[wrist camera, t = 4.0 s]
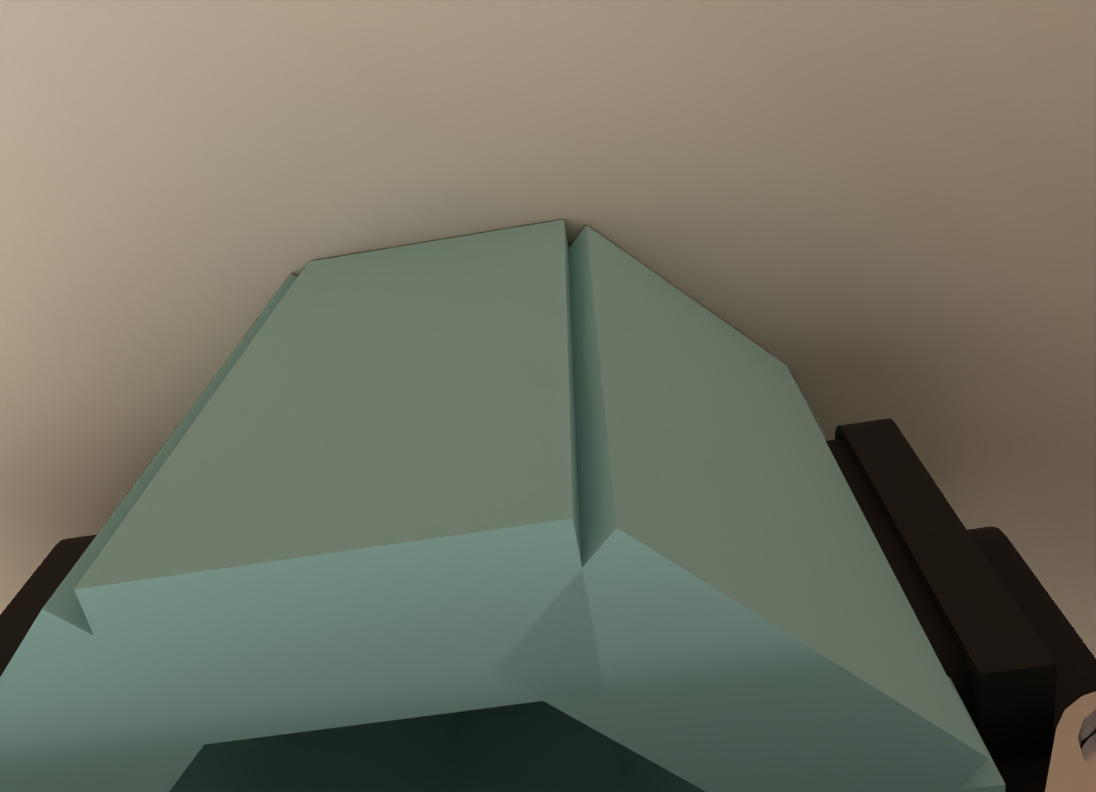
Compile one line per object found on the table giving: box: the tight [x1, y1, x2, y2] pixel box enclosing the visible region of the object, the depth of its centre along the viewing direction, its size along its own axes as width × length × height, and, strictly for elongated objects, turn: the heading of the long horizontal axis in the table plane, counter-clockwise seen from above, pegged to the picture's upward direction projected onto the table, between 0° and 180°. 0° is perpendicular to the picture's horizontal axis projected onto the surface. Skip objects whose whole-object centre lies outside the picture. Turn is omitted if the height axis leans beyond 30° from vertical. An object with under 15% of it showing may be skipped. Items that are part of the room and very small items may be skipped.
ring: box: [0, 219, 1005, 792], centre depth 10 cm, size 7×7×6 cm
